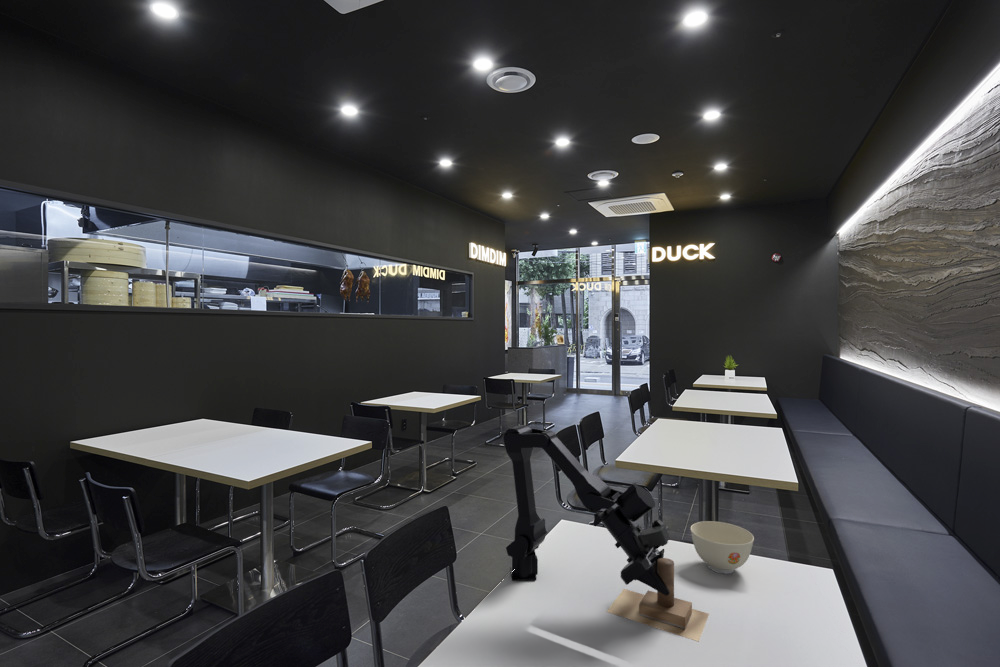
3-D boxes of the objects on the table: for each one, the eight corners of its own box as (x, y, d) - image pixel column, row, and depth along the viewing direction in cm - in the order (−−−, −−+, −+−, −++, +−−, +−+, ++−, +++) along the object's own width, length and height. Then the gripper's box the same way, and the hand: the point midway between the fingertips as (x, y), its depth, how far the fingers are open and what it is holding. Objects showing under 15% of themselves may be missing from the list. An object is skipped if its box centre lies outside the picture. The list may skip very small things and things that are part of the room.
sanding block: (639, 614, 113) (639, 562, 113) (647, 600, 119) (647, 550, 119) (685, 629, 108) (685, 573, 108) (691, 613, 114) (692, 561, 114)
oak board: (606, 615, 115) (606, 611, 115) (623, 592, 125) (623, 588, 125) (698, 646, 104) (698, 641, 104) (709, 618, 114) (709, 613, 114)
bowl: (748, 560, 143) (749, 525, 143) (757, 587, 128) (758, 548, 128) (689, 551, 148) (689, 518, 148) (691, 576, 133) (691, 539, 133)
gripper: (635, 525, 108) (688, 591, 102) (658, 500, 123) (705, 556, 118) (600, 552, 112) (648, 617, 106) (627, 524, 128) (670, 580, 122)
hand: (670, 590), depth 113 cm, fingers closed on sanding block, 3 cm apart
